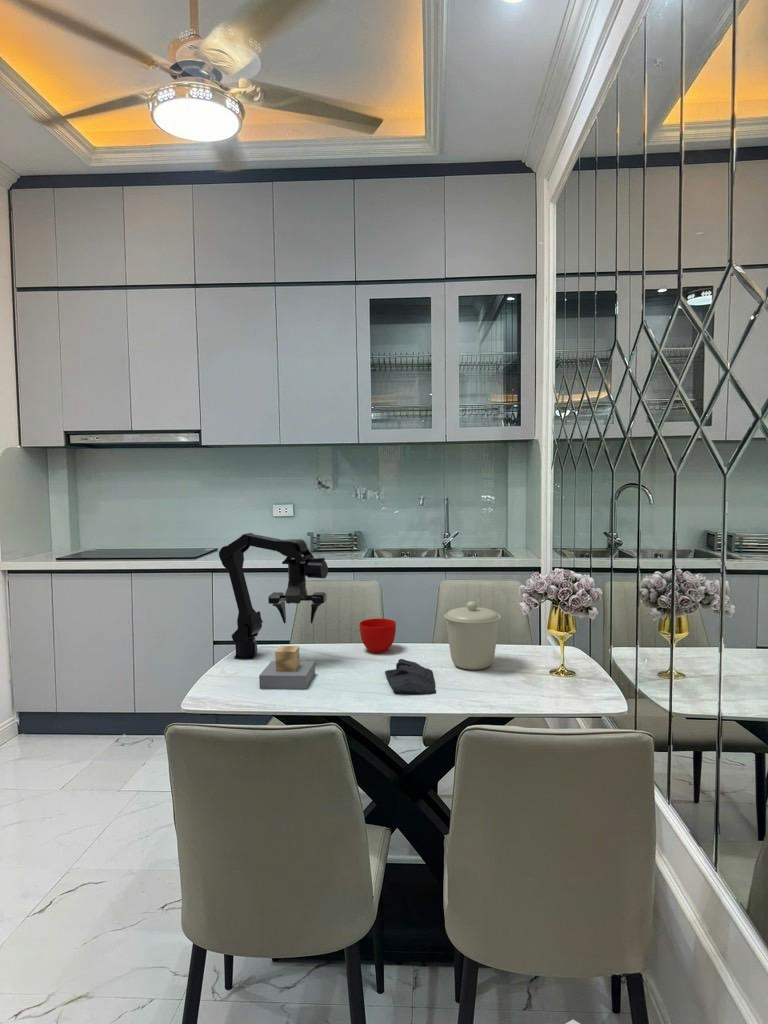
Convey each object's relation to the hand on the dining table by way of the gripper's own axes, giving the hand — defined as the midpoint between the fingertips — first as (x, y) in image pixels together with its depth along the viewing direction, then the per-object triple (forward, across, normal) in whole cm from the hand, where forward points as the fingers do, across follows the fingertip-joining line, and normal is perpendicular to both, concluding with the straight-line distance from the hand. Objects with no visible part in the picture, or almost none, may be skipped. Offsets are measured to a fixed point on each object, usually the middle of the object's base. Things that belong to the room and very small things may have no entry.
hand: (298, 623), depth 211 cm
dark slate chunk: (+14, +38, -20) cm, 45 cm away
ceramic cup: (+13, +25, +15) cm, 32 cm away
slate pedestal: (+13, +1, -20) cm, 24 cm away
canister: (+13, +58, -3) cm, 60 cm away
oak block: (+9, +1, -20) cm, 22 cm away
